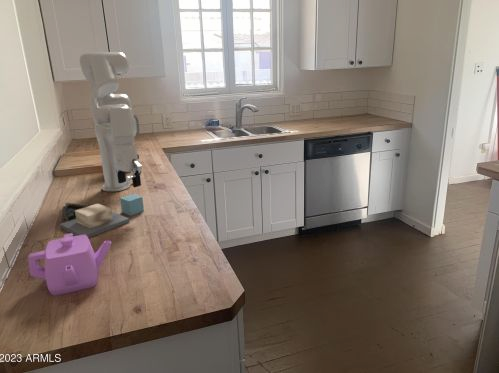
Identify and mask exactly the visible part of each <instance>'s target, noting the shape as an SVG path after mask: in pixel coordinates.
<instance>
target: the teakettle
mask: <svg viewBox="0 0 499 373" xmlns="http://www.w3.org/2000/svg"><path fill="white" fill-rule="evenodd" d="M63 235H64V236H63V237H61V238H56V239H53V240H49V241H48V243H47V244H46V247H45V250H41V251H37V252H31V253H29V254H28V256H27V258H28V267H29V276H30V277H35V278H39V279H43V280H45V282H46V286H47V289H48V292H49V293H50V295H52V296H54V297H56V296H61V295H66V294H70V293H71V294H72V293H75V292H80V291H82V290H86V289H91V288H93V287H96V285H97V282H98V276H99V269H100V268H101V266H102V264H103V262H104V260H105V257H106V255H107V253H108V251H109V250H110V247H111V245H112V241H111V240H103V243H102V244H101V245H100V247H99V248H98V250H97V251H96V252H95V251H94V248H93V246H92V244H91V241H90V238H88V237H87V235H78V236H75V235H73V233H70V232H69V233H65V234H63ZM38 260H44V267H43V266H39V263H38Z"/></svg>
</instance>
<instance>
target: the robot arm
mask: <svg viewBox="0 0 499 373" xmlns="http://www.w3.org/2000/svg"><path fill="white" fill-rule="evenodd" d="M129 64H130V63H129V60H128V58H127V55H125V53H124V52H120V51H97V52H96V51H93V52H91V51H90V52H86V53H83V54H81V55H80V57H79V66H80V69H81V71H82V74H83V76H84V78H85V80H86V81H87V84H88V86H89V89H90V95H89V101H88V103H89V107H90V113H91V116H92V121H93V122H94V134H95V136H96V140H97V144H98V148H99V154H100V159H101V166H102V172H103V179H104V184H103V185H102V186H101V189H102V190H103V191H104V192H108V193H110V192H113V193H114V192H120V191H124V190H127V189H129V188H130V187H131V183H130V181H131V182H132V187H133V188H137V187H141V186H142V181H141V174H142V169H143V166H142V164H140V163H139V159H138V156H137V154H138V153H137V152H138V151H137V149H136V145H135V143H136V142H135V137H136V136H137V134H136V124H135V119H134V116H133V115H134V111H133V106H132V105H133V104H132V102H131V99H130V97H129V96H128V95H127V94H125V93H116V92H117V91H118V90H119V87H120V82H119V78H118V75H120V74H121V75H122V74H123V75H124V74H126V73H129V69H130V68H129V67H130V65H129ZM113 93H115V94H113ZM126 173H131V175H126Z"/></svg>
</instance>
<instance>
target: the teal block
mask: <svg viewBox="0 0 499 373" xmlns="http://www.w3.org/2000/svg"><path fill="white" fill-rule="evenodd" d="M119 201H120V206H121V212H122V214H125V215H128V216H133V215H137V214H140V213H142V212H144V211H145V210H144V200H143V196H141V195H138V194H135V193H132V194H128V195H126V196H122V197H119Z"/></svg>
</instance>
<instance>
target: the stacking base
mask: <svg viewBox="0 0 499 373" xmlns="http://www.w3.org/2000/svg"><path fill="white" fill-rule="evenodd" d="M87 206H88V205H87ZM74 215H76V219H74V220H71V221H66V222H62V223H60V224H59V227H60V228H61V229H62V230H64V231H66V232H68V233H69V234H70V233H73V236H78V235H87V237H88V239H90V238H91V237H94V236H97V235H100V234H102V233H105V232H108V231H110V230H113V229H115V228H118V227H120V226H123V225H126V224H128V223H130V218H129V217H126V216H124V215H121V214H119V213H117V212H113V211H112V208H111V207H108V206H106V205H103V204H100V203H94V204H91V205H89V206H88V207H85V208H82V209H79V210H76V211H75V214H74Z"/></svg>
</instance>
